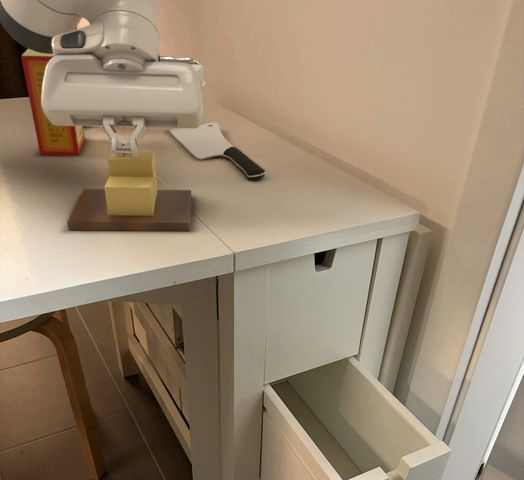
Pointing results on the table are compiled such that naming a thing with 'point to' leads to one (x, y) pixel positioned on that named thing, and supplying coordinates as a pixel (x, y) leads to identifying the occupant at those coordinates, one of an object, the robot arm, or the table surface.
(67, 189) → the table surface
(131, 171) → the base
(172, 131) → the kitchen cleaver
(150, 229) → the butter board
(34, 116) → the baking soda box
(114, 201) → the block
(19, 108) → the table surface
